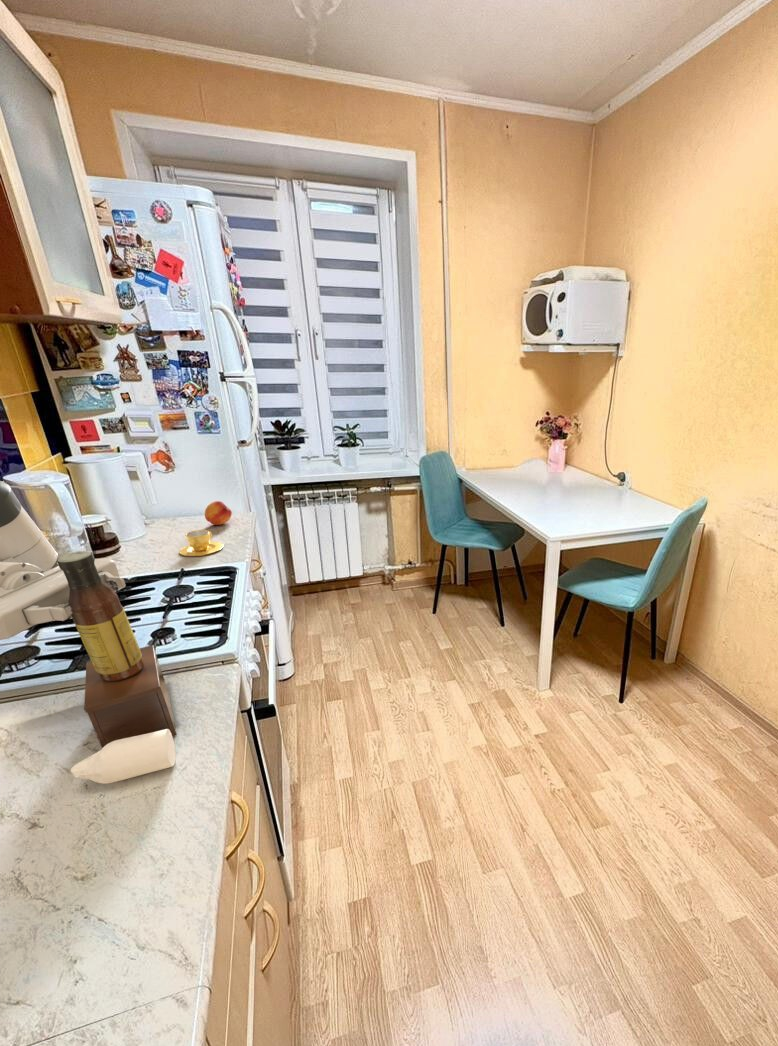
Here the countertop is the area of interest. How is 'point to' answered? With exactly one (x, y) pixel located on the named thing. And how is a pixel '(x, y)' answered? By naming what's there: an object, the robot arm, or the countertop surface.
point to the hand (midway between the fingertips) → (96, 597)
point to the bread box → (135, 716)
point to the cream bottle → (128, 758)
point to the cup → (200, 543)
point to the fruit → (217, 513)
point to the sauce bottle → (100, 619)
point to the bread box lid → (121, 684)
